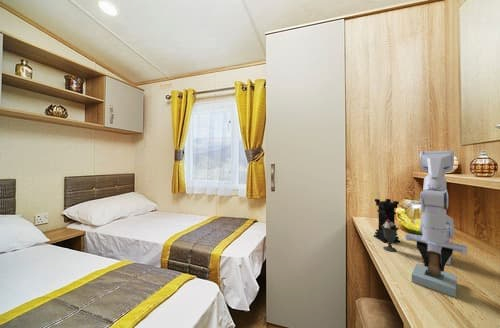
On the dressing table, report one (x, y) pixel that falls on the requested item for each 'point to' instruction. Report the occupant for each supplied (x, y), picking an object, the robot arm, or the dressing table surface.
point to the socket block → (435, 280)
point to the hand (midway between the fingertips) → (434, 267)
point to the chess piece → (389, 211)
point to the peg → (434, 263)
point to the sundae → (389, 234)
